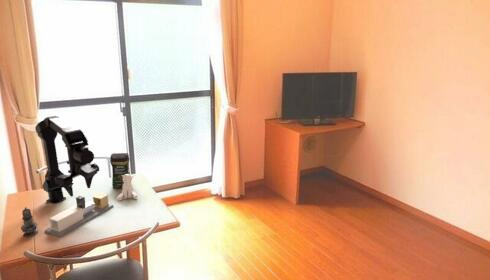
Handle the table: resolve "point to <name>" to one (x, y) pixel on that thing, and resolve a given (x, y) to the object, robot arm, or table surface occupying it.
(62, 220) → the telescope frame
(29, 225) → the dark grey statuette
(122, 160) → the coffee jar
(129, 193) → the seated beast figurine
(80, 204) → the steel t-shaped block
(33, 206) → the table surface
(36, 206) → the table surface
